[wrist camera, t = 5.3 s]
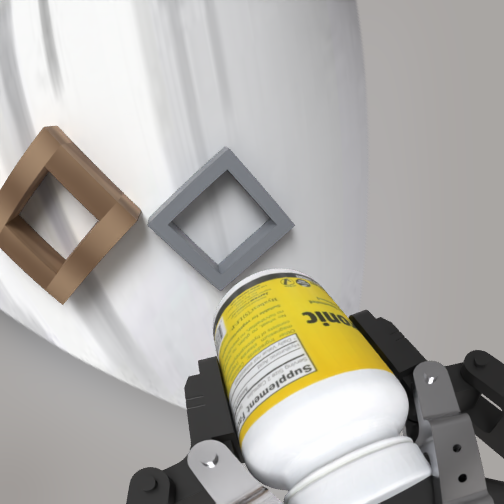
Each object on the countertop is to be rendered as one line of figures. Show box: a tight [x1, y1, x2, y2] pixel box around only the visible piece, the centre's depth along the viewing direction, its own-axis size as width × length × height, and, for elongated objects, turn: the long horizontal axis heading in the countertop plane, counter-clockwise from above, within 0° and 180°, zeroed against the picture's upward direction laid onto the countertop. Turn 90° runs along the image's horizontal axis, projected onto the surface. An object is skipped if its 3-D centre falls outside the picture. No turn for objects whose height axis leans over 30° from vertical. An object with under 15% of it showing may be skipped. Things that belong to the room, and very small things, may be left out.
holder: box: [147, 147, 295, 291], centre depth 27 cm, size 9×9×2 cm
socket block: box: [0, 126, 141, 305], centre depth 23 cm, size 11×11×3 cm
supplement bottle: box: [213, 268, 432, 504], centre depth 10 cm, size 5×5×10 cm
